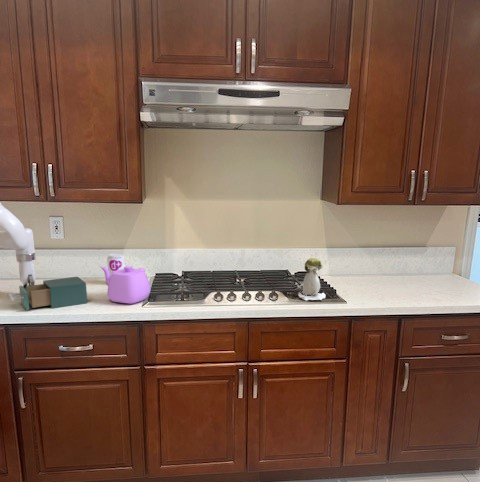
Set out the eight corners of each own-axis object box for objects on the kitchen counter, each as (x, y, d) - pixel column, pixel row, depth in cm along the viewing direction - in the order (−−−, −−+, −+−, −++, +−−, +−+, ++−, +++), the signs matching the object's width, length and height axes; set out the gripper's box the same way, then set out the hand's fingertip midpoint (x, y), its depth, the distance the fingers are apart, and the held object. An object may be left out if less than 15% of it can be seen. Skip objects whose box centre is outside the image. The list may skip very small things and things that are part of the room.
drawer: (12, 311, 184) (10, 294, 182) (8, 304, 193) (6, 287, 191) (61, 304, 194) (59, 287, 192) (54, 298, 203) (52, 281, 201)
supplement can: (123, 286, 226) (122, 256, 222) (106, 286, 226) (105, 256, 222) (127, 282, 234) (126, 253, 230) (111, 282, 234) (109, 253, 230)
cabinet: (51, 308, 192) (49, 287, 189) (44, 300, 202) (42, 280, 199) (87, 303, 200) (85, 282, 197) (79, 296, 210) (77, 276, 207)
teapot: (160, 294, 214) (159, 262, 210) (135, 307, 195) (133, 272, 191) (118, 289, 222) (116, 258, 218) (89, 301, 202) (87, 267, 198)
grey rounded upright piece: (293, 299, 211) (295, 259, 206) (303, 292, 222) (305, 254, 217) (319, 302, 206) (321, 262, 201) (327, 295, 217) (330, 257, 212)
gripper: (12, 254, 205) (17, 292, 209) (20, 262, 191) (24, 302, 195) (31, 253, 209) (35, 290, 213) (39, 260, 195) (43, 299, 200)
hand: (30, 295), depth 204 cm, fingers open, 9 cm apart
